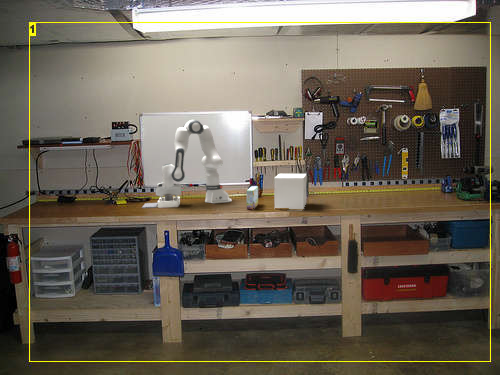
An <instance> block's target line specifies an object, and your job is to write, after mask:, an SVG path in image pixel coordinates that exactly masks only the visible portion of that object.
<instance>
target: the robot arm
mask: <svg viewBox="0 0 500 375" xmlns="http://www.w3.org/2000/svg"><path fill="white" fill-rule="evenodd" d="M194 134H195V135H197V136H198V139H199V144H200V147H201V151H202V152H203V154H204V156H203V157H202V159H201V164H202V166H203V170H204V174H205V184H206V185H205V191H206V193H205V200H204V202H205V203H210V204H222V203H231V202H232V198H230V195H229V193H228V192H227V191H226V190H224V189H223V185H221V184H220V174H219V173H218V170H217V169H220V168H222V166H223V162H224V161H223V159H222V157H220V155H219V152H218V150H217V147H216V144H215V140H214V138H213V134H212V131H211V129H210V127H209V126H208V125H203V124H202V123H201V122H200V121H199V120H197V119H191V120H188V121H186V122H185V123H184V124H183V126H182V127H178V128H177V129H176V131H175V136H174V144H173V146H174V147H173V148H174V153H175V162H174V165H173V164H172V163H166V164H163V165H162V166H161V176H162V180H161V182H159V183H157V184H156V189H155V195H156V196H157V197H159V198H162V197H165V195H173V196H174V197H175V198H174V201H176V197H178V196H181V195H182V190H181V189H182V184H180V182H182V181H183V180H184V179H185V178H186V175H185V173H186V172H185V170H184V162H185V161H184V160H185V159H184V158H185V155H186V154H187V150H188V147H189V141H190V140H189V139H190V136H191V135H194ZM175 182H179V183H175ZM162 201H164V199H163V198H162Z"/></svg>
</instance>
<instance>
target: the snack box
mask: <svg viewBox="0 0 500 375" xmlns="http://www.w3.org/2000/svg"><path fill="white" fill-rule="evenodd" d="M258 205H259V185H258V186H257V185H251V186H250V187H249V188H248V189H246V210H247V209H253V208H254V209H256V207H257V206H258ZM254 209H253V210H254Z"/></svg>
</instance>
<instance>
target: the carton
mask: <svg viewBox="0 0 500 375" xmlns="http://www.w3.org/2000/svg"><path fill="white" fill-rule="evenodd" d="M175 197H176V196H173V201H165V196H162V198H163V199H164V201H162V198H161V197H159V199H158V200H157V203H158V206H157V208H158V209H160V208H161V209H162V208H178V207H180V203H181V197H180V196H177V197H176V201H174V198H175Z"/></svg>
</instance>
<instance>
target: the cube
mask: <svg viewBox="0 0 500 375" xmlns="http://www.w3.org/2000/svg"><path fill="white" fill-rule="evenodd" d="M273 178H274V179H273V180H274V182H273V185H274V187H273V188H274V190H273V191H274V192H273V193H274V194H273V196H274V209H275V208H289V209H304V210H305V208H304V207H306V206H305V205H307V173H278V174H277V175H276V176H274V177H273Z"/></svg>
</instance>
